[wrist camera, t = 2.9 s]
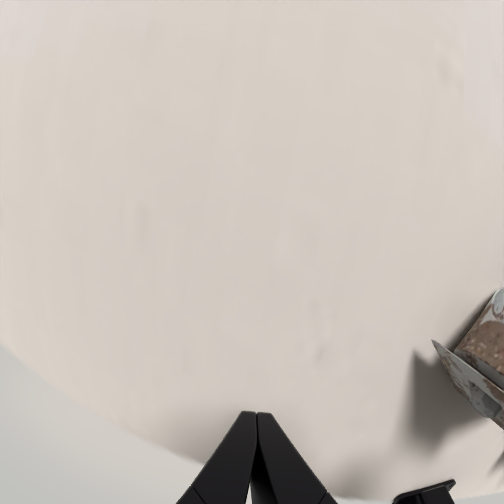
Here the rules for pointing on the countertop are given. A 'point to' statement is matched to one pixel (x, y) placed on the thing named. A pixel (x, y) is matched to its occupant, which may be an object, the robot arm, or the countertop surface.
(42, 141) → the countertop surface
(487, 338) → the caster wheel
